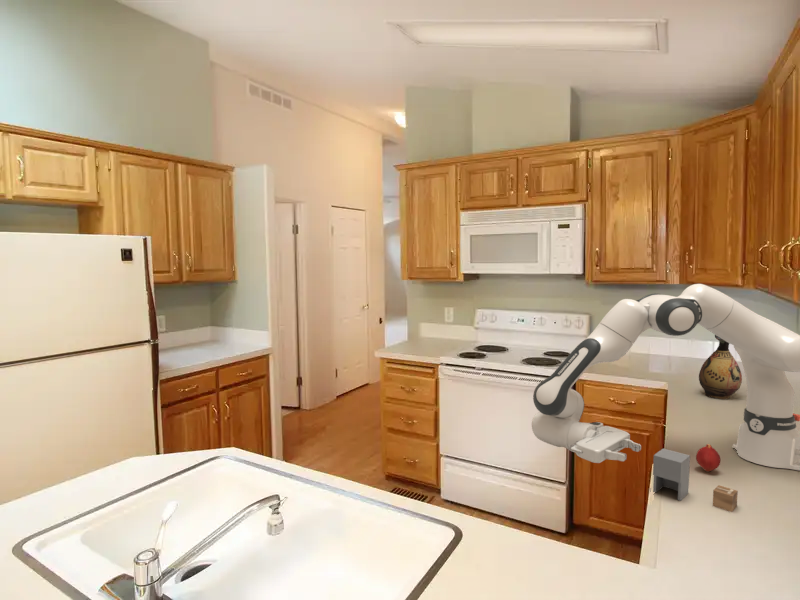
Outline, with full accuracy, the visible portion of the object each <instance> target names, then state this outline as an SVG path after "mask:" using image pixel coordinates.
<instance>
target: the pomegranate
mask: <svg viewBox="0 0 800 600" xmlns="http://www.w3.org/2000/svg"><path fill="white" fill-rule="evenodd" d="M695 457H696V458H695V460H696V462H697V464H698V465H699V466H700V467H701V468H702V469H703V470H704V471H705V472H707V473H708V472H712V471H714V470H716V469H718V468H719V466H720V465H721V456H720V454H719V452H718V451H717V450H716V449H715V448H714V447H712V445H711V444H709V443H708V444H706V445H705V446H703V447H700V448H699V449H698V451H697V452H696V456H695Z"/></svg>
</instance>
